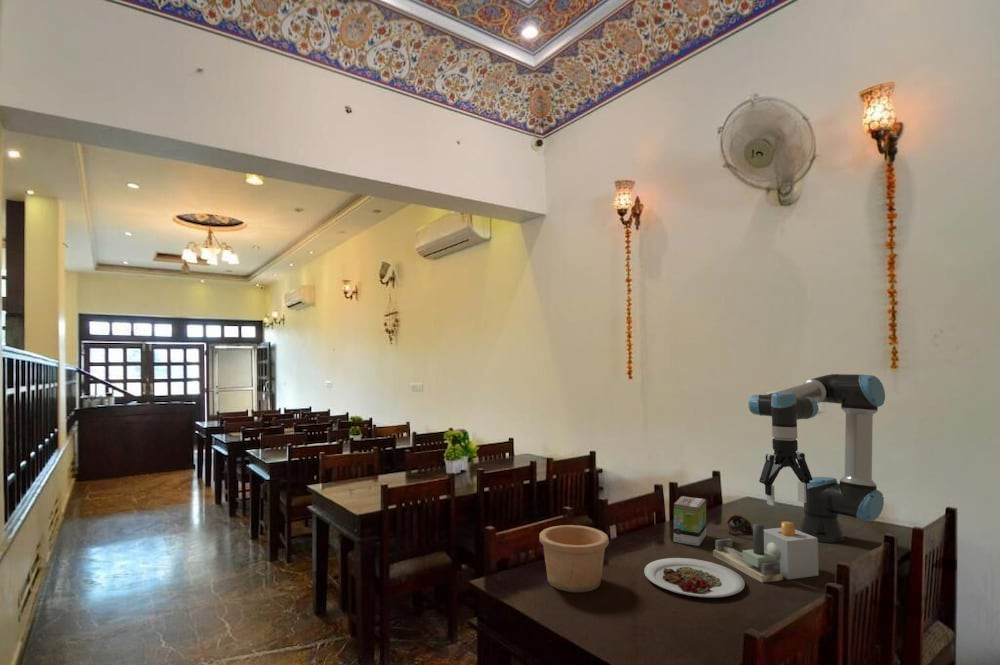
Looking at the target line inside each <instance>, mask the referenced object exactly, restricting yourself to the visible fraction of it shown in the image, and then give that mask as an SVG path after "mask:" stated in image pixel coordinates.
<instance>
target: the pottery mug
mask: <svg viewBox="0 0 1000 665" xmlns="http://www.w3.org/2000/svg"><path fill="white" fill-rule="evenodd" d="M731 522H732V523H733V524H730V523H731ZM726 523H727V525H726V530H727V532H728V534H730V533H738V532H742V531H743V532H750V533H751V534H752V535H753V526H752V524H751V521H749V519H747V518H745V516H744V515H742V514H734V515H731V516H730V517H728V519H727V520H726Z"/></svg>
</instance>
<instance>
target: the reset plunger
mask: <svg viewBox="0 0 1000 665" xmlns="http://www.w3.org/2000/svg"><path fill="white" fill-rule="evenodd" d="M780 524H781V525H780V528H781V534H782V535H785V536H787V537H791V536H795V529H796V528H795V527H796V525H795V524H796V523H794V522H792V521H781V522H780Z"/></svg>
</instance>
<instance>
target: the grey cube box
mask: <svg viewBox="0 0 1000 665" xmlns="http://www.w3.org/2000/svg"><path fill="white" fill-rule="evenodd" d="M764 551H766V552H769V553H771V554H773V555H775V556H776V561H777V562H779V563H780V572H781V573H783V578H784V579H787V580H793V579H794V580H795V579H801V578H802V579H803V578H809V577H818V576H819V575H820V574H819V541H818V538H816V537H814V536H811V535H808V534H806V533H803V532H801V531H800V530H798V529H796V528H795V536H791V537H787V536H785V535H782V534H781V527H774V528H766V529H765V528H764Z"/></svg>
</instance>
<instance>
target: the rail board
mask: <svg viewBox="0 0 1000 665" xmlns="http://www.w3.org/2000/svg"><path fill="white" fill-rule="evenodd" d="M714 542H715V545H714V546H715V549H713V550H712V556H713V557H715V558H716V559H718V560H720V561H722V562H724V563H725V564H728V565H729V566H730V567H733V568H734V569H737V570H738V571H740V572H742V573H744V574H745V575H748V576H749V577H751V578H752V579H754V580H757V582H758V581H759V582H760V583H763V584H764V583H769V582H770V583H771V582H777V581H778V582H779V581H783V580H784V577H783V573H781V572H780V563H779V562H777V561H772V562H763V563H761V567H756V566H754V565H752V564H750V563H748V562H746V561H744V560H743V555H742V552H741V551H738V550H737V549H735V548H733V539H732V538H729V537H728V538H719V539H715V540H714Z"/></svg>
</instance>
